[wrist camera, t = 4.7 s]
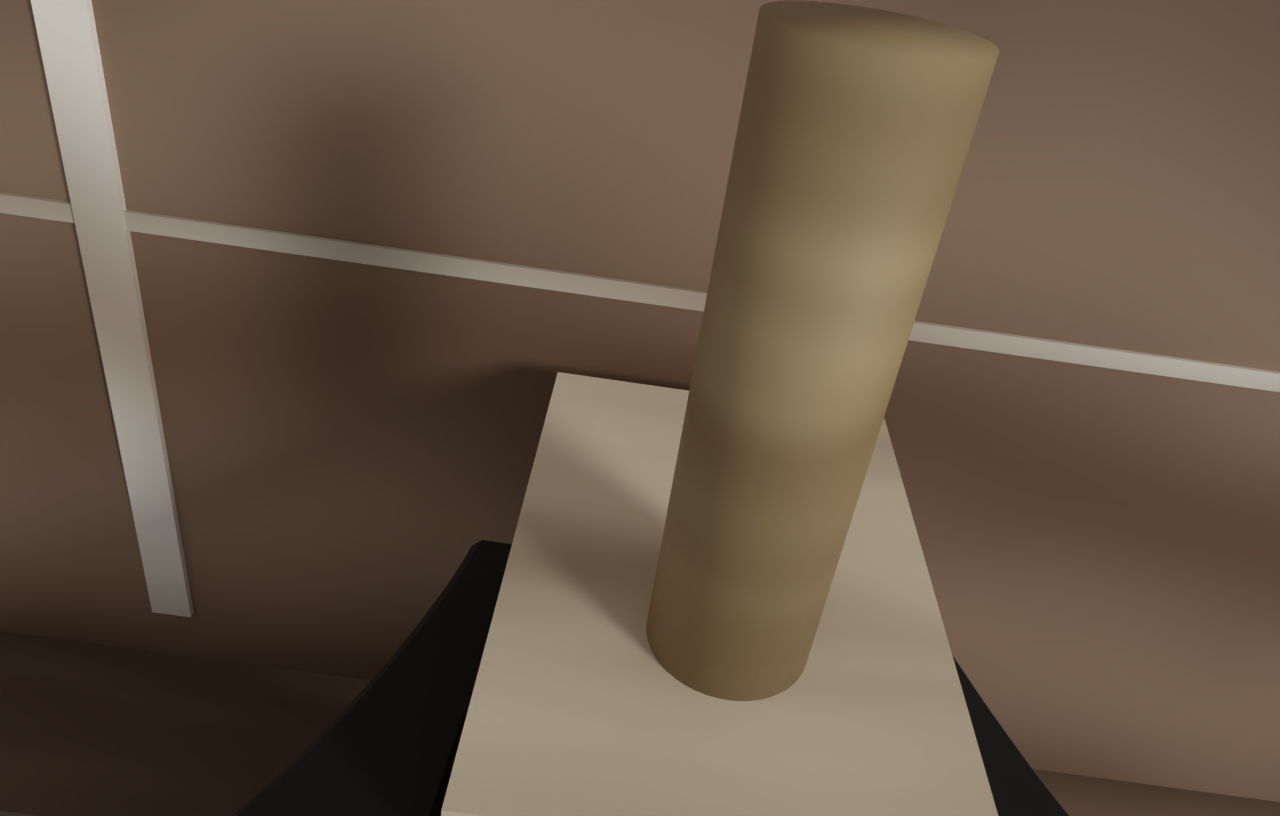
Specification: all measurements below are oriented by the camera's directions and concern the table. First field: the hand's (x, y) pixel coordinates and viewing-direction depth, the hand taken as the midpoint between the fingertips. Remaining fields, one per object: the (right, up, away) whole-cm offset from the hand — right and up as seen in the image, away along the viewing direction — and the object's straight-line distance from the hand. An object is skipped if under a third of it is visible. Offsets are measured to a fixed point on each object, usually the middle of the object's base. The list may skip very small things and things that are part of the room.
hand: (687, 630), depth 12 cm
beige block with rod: (0, +3, 0) cm, 3 cm away
